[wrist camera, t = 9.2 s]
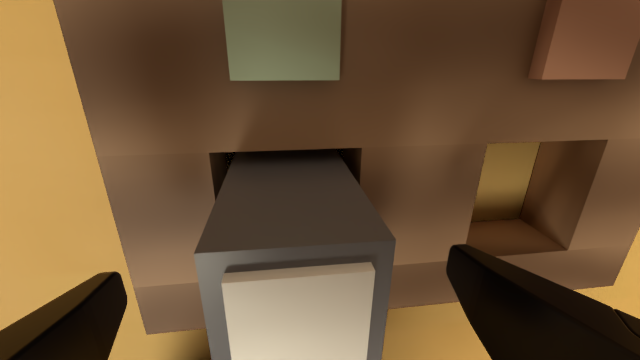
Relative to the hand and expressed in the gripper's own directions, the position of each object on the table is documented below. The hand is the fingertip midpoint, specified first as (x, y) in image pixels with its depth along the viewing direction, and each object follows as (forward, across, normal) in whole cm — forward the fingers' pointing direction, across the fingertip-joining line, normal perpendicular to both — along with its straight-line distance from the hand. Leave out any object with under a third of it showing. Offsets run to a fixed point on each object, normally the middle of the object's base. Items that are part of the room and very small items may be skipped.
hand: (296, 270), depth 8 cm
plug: (+6, 0, 0) cm, 6 cm away
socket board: (+6, -5, -2) cm, 8 cm away
